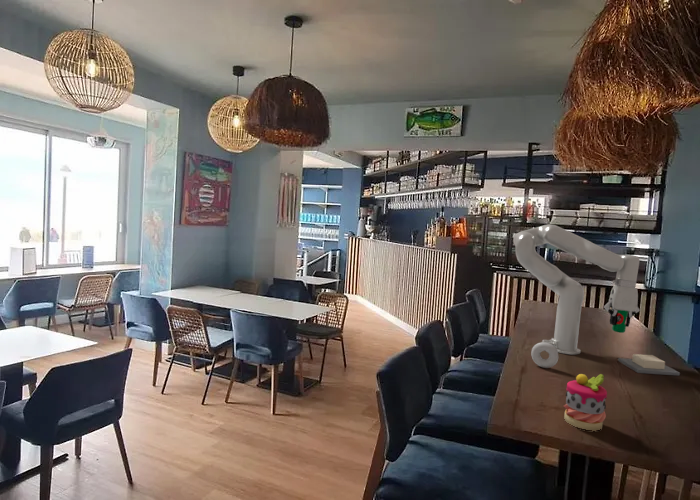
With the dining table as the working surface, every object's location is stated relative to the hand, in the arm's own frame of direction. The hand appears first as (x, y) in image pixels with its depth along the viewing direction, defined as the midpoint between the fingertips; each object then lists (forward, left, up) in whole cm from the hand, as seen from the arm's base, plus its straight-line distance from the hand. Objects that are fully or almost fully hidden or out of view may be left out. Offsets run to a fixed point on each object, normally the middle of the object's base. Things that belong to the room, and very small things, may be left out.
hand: (619, 324), depth 196 cm
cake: (-46, -68, -14) cm, 84 cm away
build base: (+6, -13, -14) cm, 20 cm away
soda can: (0, 0, -3) cm, 3 cm away
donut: (-39, -21, -14) cm, 47 cm away
